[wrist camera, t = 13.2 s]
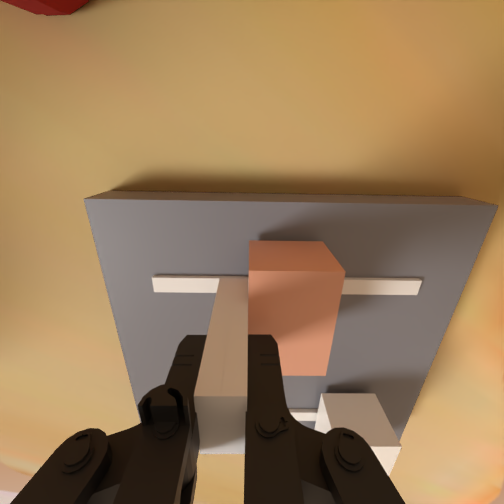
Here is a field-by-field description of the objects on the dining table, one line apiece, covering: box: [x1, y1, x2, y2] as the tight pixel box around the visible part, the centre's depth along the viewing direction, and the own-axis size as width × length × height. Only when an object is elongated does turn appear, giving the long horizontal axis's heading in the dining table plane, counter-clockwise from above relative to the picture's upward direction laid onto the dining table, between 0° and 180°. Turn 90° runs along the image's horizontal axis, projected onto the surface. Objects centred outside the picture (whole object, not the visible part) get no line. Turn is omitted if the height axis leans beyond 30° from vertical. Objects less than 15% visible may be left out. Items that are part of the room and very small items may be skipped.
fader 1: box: [248, 240, 346, 376], centre depth 13 cm, size 4×6×4 cm, turn 179°
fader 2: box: [314, 393, 402, 476], centre depth 18 cm, size 4×6×4 cm, turn 179°
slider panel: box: [84, 191, 499, 450], centre depth 18 cm, size 22×22×3 cm
